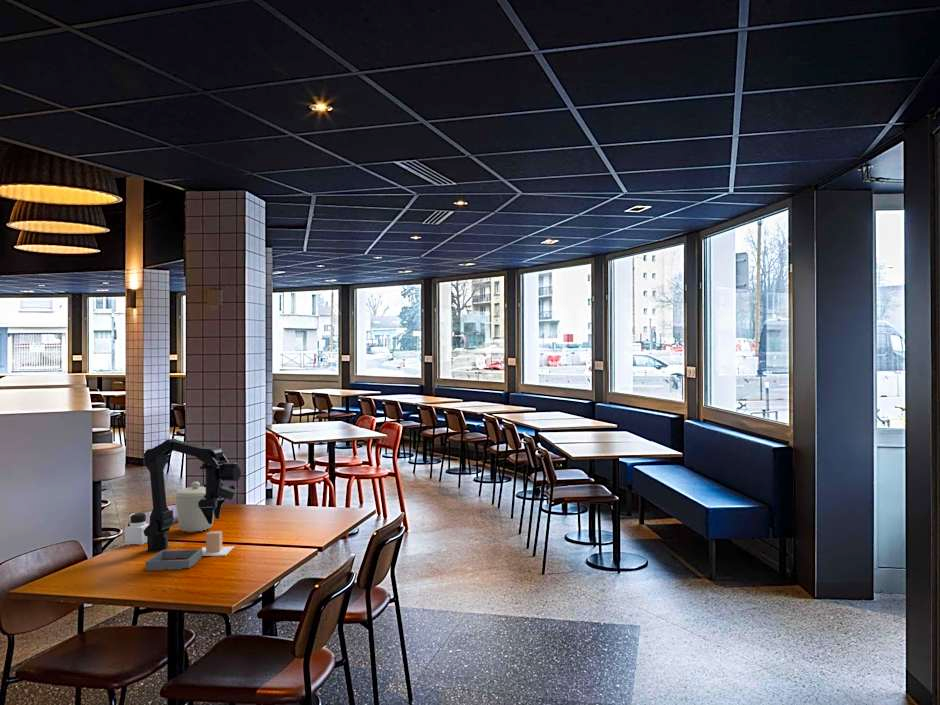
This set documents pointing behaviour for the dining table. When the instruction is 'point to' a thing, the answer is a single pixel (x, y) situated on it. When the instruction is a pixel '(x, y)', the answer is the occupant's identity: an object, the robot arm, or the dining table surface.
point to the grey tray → (161, 564)
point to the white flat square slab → (223, 552)
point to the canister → (191, 508)
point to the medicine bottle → (136, 529)
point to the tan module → (214, 541)
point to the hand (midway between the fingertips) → (214, 521)
